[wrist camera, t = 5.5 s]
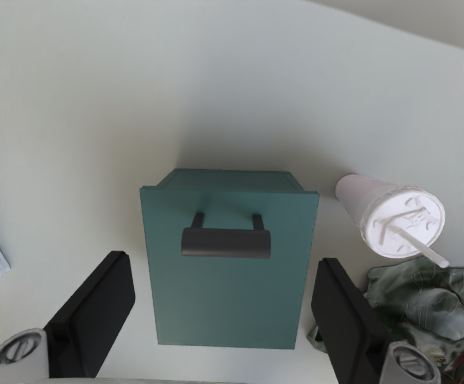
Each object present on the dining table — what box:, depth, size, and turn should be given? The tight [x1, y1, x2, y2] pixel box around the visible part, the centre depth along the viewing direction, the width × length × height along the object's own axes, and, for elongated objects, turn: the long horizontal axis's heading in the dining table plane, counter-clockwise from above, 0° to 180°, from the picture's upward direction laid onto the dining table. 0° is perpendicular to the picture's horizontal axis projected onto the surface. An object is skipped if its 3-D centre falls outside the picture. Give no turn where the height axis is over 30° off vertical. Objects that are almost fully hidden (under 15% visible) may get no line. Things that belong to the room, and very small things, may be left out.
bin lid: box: [140, 186, 319, 350], centre depth 18 cm, size 17×14×5 cm
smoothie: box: [335, 174, 449, 268], centre depth 21 cm, size 6×6×14 cm
